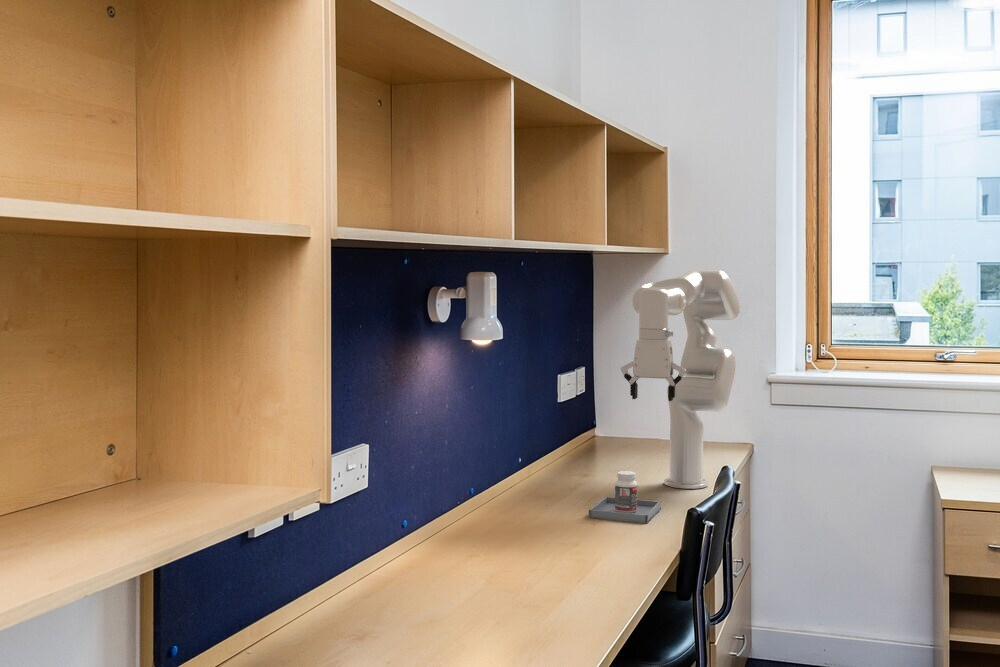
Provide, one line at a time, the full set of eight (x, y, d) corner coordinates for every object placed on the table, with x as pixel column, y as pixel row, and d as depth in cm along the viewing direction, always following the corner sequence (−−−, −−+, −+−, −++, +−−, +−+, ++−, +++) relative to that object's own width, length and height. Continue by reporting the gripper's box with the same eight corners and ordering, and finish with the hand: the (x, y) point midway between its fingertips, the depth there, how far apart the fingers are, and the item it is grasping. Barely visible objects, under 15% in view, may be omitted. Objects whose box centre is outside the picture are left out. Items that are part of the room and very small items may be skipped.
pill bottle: (636, 514, 246) (636, 475, 246) (613, 513, 247) (614, 474, 247) (637, 508, 252) (638, 471, 251) (615, 507, 253) (616, 470, 252)
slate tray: (605, 503, 260) (605, 496, 260) (661, 509, 254) (661, 501, 254) (588, 517, 245) (588, 509, 245) (647, 523, 239) (647, 515, 239)
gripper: (688, 335, 257) (687, 399, 258) (624, 333, 263) (624, 396, 264) (683, 337, 250) (682, 403, 251) (617, 335, 256) (617, 399, 257)
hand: (652, 399), depth 257 cm, fingers open, 9 cm apart
